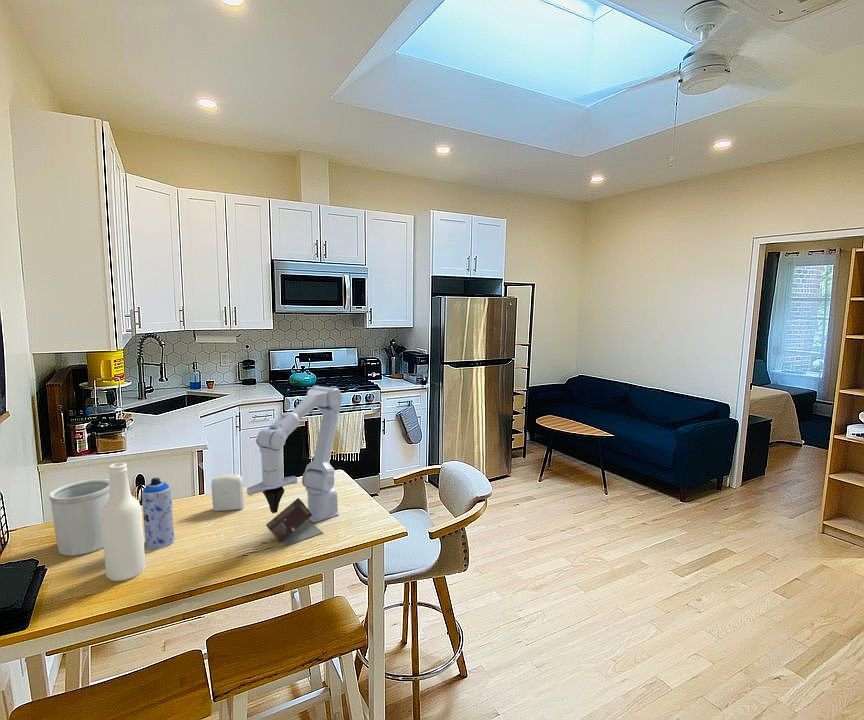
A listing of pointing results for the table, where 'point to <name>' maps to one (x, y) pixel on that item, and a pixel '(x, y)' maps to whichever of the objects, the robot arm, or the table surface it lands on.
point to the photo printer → (227, 492)
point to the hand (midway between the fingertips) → (273, 511)
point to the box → (289, 520)
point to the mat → (302, 533)
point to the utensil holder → (79, 516)
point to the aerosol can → (157, 515)
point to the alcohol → (122, 528)
